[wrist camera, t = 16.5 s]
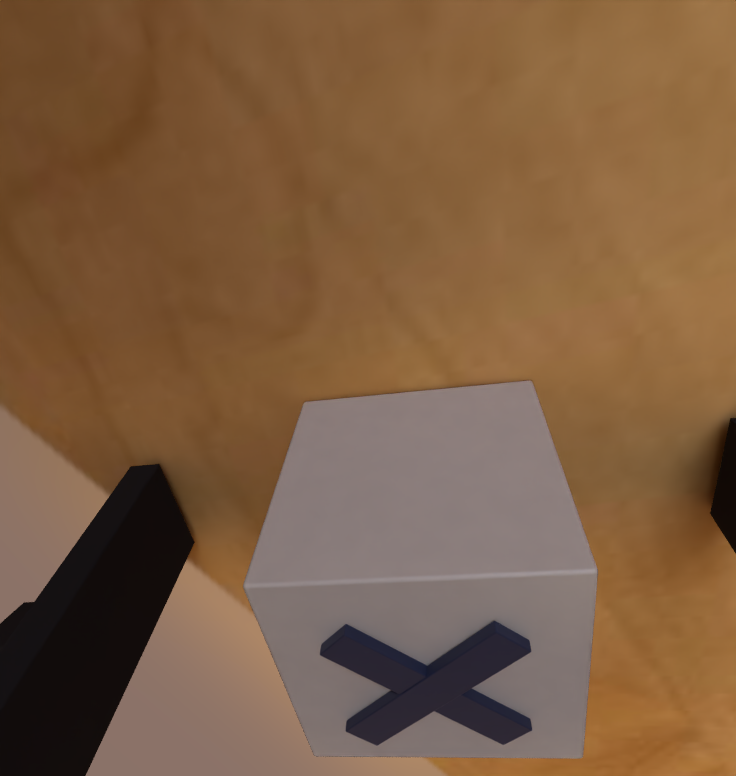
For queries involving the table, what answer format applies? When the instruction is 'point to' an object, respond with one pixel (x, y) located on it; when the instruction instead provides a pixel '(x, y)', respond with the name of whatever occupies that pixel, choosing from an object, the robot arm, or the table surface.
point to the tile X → (428, 578)
